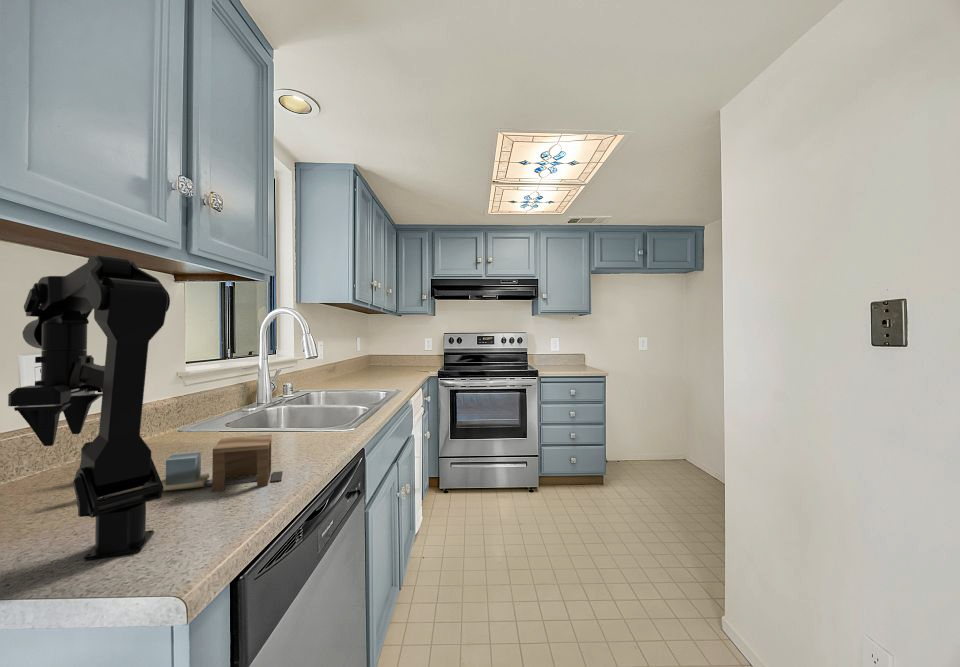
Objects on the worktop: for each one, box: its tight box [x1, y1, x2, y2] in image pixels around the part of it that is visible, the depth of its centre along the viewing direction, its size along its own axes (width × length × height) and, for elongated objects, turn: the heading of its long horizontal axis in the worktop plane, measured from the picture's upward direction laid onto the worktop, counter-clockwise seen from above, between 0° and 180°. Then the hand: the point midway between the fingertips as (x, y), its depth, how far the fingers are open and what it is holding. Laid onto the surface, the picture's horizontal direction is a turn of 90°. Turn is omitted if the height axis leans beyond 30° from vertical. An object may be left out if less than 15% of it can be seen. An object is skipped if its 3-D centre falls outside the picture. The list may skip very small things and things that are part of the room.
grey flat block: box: [270, 470, 284, 483], centre depth 95 cm, size 6×2×1 cm, turn 22°
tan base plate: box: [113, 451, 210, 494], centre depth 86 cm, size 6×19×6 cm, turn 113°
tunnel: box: [211, 434, 272, 493], centre depth 92 cm, size 10×10×8 cm
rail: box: [97, 473, 271, 499], centre depth 88 cm, size 2×32×1 cm, turn 113°
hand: (63, 439), depth 74 cm, fingers open, 9 cm apart
